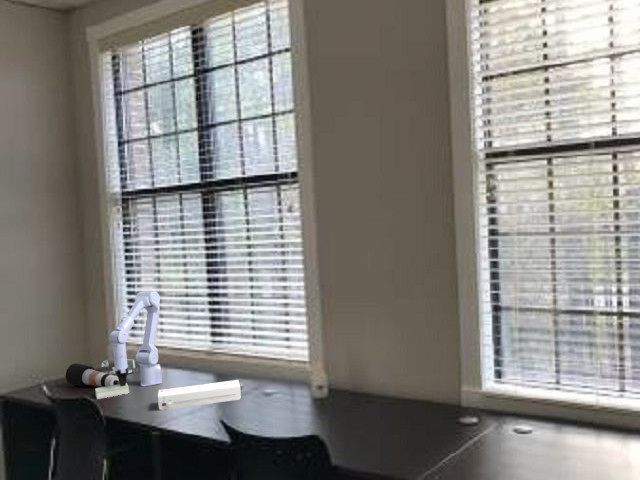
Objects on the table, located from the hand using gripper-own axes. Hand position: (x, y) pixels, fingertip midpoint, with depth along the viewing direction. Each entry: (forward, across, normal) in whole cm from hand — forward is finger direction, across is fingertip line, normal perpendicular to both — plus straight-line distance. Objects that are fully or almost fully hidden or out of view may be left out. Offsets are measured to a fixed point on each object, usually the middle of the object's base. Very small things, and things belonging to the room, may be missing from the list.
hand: (123, 386), depth 320 cm
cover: (+1, 0, -5) cm, 5 cm away
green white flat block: (+3, 0, -5) cm, 6 cm away
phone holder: (+4, -43, +2) cm, 43 cm away
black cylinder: (+4, -22, -9) cm, 24 cm away
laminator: (+4, +40, +27) cm, 48 cm away
